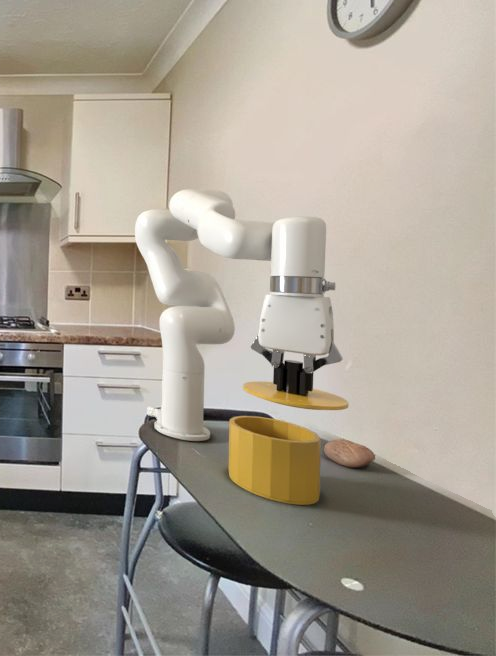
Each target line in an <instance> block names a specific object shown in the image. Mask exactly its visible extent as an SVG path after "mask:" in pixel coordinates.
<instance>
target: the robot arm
mask: <svg viewBox="0 0 496 656" xmlns="http://www.w3.org/2000/svg"><path fill="white" fill-rule="evenodd" d="M168 208H169V209H168ZM168 208H167V209H165V208H153V209H147V210H145V211H143V212H141V213H140V214H139V215H138V216H137V218H136V220H135V223H134V239H135V243H136V246H137V248H138V251H139V252H140V253H139V254H141V257H142V258H143V259H144V262H145V263H146V266H147V270H148V273H149V277H150V281H151V284H152V287H153V289H154V293H155V296H156V297H157V300H158V301H159V302H160V303H161V304H163V305H166V306H170V307H168V308H166V309H164V310H163V311H162V313H161V314H160V315H159V319H158V320H159V321H158V326H159V332H160V339H161V346H162V347H161V348H162V366H161V367H162V369H161V371H162V372H161V374H162V375H161V407H160V408H156V407H154V406H150V405H149V406H147V408H146V414H147V416H149V417H153V418H155V419H156V420H155V421H154V422H153V424H154V425H153V426H154V430H156V431H157V432H159V433H160V434H162V435H164V436H168V437H169V438H172V439H177V440H181V441H190V442H203V441H208V440H209V439H210V438H211V431H210V430H209V429H208V428H207V427H205V426H204V411H205V410H204V406H205V403H204V401H205V367H206V366H205V361H204V358H203V356H202V354H201V352H200V350H199V349H198V347H197V345H224V344H227V343H229V342H230V341H231V340H232V339H233V337H234V335H235V329H236V328H235V321H234V318H233V315H232V312H231V310H230V308H229V305H228V303H227V300H226V298H225V295H224V293H223V291H222V287H221V286H220V283H219V282H218V280H217V279H216V278H215V277H214V276H213V275H212V274H210V273H208V272H206V271H205V272H204V271H199V270H198V271H197V270H187V269H186V268H184V266H183V264H182V261H181V259H180V255H179V254H178V253H177V252H176V250H175V249H174V248H173V247H172V246H171V245H169V244H168V243H167V242H166V241H179V242H180V241H182V242H191V241H196V240H197V239H198V240H199V242H200V244H201V245H202V246H204V247H205V248H206V249H208V250H209V251H211V252H213V253H215V254H216V255H219V256H221V257H224V258H225V259H231V260H247V261H248V260H249V261H251V260H252V261H261V262H262V261H263V262H265V261H267V262H270V277H269V279H270V280H269V293H266V294H265V295H264V298H263V302H262V307H261V312H260V316H259V317H260V319H259V325H258V334H257V336H256V338H255V339H254V340H253V342H252V344H251V345H250V349H251V350H252V351H253V352H256V353H257V354H259V355H262V356H263V357H264V359H266V361H268V362H269V363H270V365H271V367H272V368H273V377H272V382H273V384H275V385H277V391H282V390H283V386H284V361H285V358H284V357H285V352H287V353H293V354H294V353H295V354H302V355H303V372H301V373H300V395H302V396H306V395H307V394H308V392H309V391H311V392H312V390H313V389H314V372H317V370H320V369H321V368H322V367H324V366H327V365H328V366H329V365H332V364H337V363H341V362H342V361H343V356H342V354H341V352H340V350H339V349H338V347H337V345H336V343H335V329H334V328H335V327H334V324H335V323H334V313H333V305H332V301H331V297H329V296H328V297H327V296H325V294H326V293H327V292H329V291H336V287H337V286H336V285H337V284H336V282H333V281H332V282H330V281H328V280H326V278H325V273H326V272H325V270H326V269H325V268H326V243H327V242H326V241H327V223H326V221H325V220H324V219H322V218H321V217H316V216H290V217H284V218H280V219H277V220H276V221H275V222H274V221H273V222H272V221H271V222H270V221H259V220H239V219H236V210H235V207H234V203H233V200H232V198H231V196H230V195H229V194H228V193H226V192H225V191H223V190H216V189H215V190H214V189H202V188H183V189H181V190H179V191H177V192H176V193H174V194H173V195H172V196H171V198H170V200H169V203H168ZM325 355H327V356H325ZM317 356H320V358H317ZM321 356H322V357H321Z"/></svg>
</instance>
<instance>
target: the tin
mask: <svg viewBox="0 0 496 656" xmlns="http://www.w3.org/2000/svg"><path fill="white" fill-rule="evenodd" d="M228 428H229V429H228V430H229V432H228V468H227V469H228V476H229V478H230V479H231V481H232V482H233V483H235V484H236V485H237V486H239V487H240V488H242V489H244V490H245V491H248V492H249V493H252V494H254V495H256V496H259V497H262V498H264V499H267V500H271V501H274V502H279V503H283V504H288V505H289V504H290V505H297V506H306V505H307V506H309V505H313V504H316V503H318V502H319V500H320V496H321V456H322V455H321V452H322V451H321V450H322V449H321V448H322V447H321V446H322V438H321V437H320V436H319V435H318V433H317V432H314V431H313V430H311V429H308V428H307V427H304V426H301V425H298V424H295V423H293V422H288V421H285V420H280V419H276V418H271V417H270V418H269V417H263V416H255V415H238V416H237V415H236V416H232V417H231V418H230V419H229V426H228Z"/></svg>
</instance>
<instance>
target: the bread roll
mask: <svg viewBox="0 0 496 656" xmlns="http://www.w3.org/2000/svg"><path fill="white" fill-rule="evenodd" d="M323 448H324V449H323V451H324V454H325V456H326V457H327V458H329V460H331V461H333V462H335V463H337V464H338V465H340V466H342V467H346V468H352V469H353V468H362V467H366V466H367V465H369V464H371V463H373V462H374V461H375V460H376V454H375V453H374V451H372V450H371V449H370V448H369V447H367V446H366V445H363V444H360V443H356V442H353V441H352V440H348V439H342V438H341V439H332V440H329V441H328V442H326V444H325V445H324V447H323Z"/></svg>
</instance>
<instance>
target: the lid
mask: <svg viewBox="0 0 496 656" xmlns="http://www.w3.org/2000/svg"><path fill="white" fill-rule="evenodd" d="M283 363H284V386H283V390H282V391H277V385H275V384H273V381H247V382H245V383H243V384H242V389H243V390H244V392H246V393H248V394H249V395H252V396H253V397H257V398H259V399H262V400H264V401H268V402H271V403H274V404H278V405H282V406H287V407H290V408H291V407H292V408H298V409H304V410H314V411H342V410H346V409H348V408H349V401H348V400H347V399H345V398H343V397H341V396H339V395H337V394H334V393H330V392H327V391H324V390H320V389H315V388H313V390H312V392H311V391H309V392H308V394H307V395H306V396H302V395H300V373H301V372H303V368H304V361H303V362H302V361H300V360H299V361H298V360H294V359H293V360H292V359H284V360H283Z"/></svg>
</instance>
